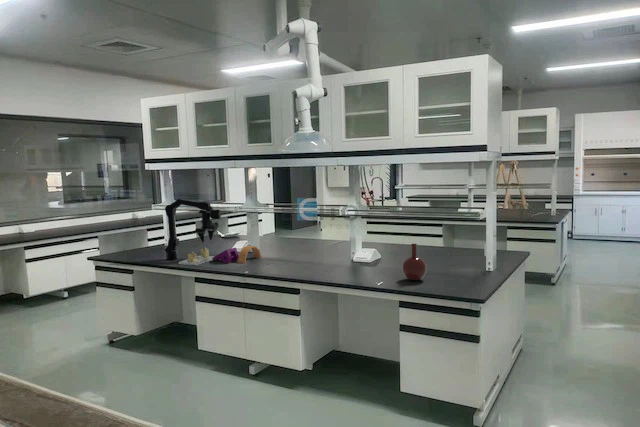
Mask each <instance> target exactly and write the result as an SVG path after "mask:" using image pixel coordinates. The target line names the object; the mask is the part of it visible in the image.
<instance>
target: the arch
mask: <svg viewBox="0 0 640 427" xmlns="http://www.w3.org/2000/svg"><path fill="white" fill-rule="evenodd" d="M250 250H251V252H252V253H253V259H254V258H255V259H262V254H261V252H260V248H258V247H257V246H256V245H255V246H254V245H253V246H252V245H245V246H243V247H242V248H241V250H240V251H239V253H238V254H239V258H238V260H237V262H238V263H239V264H246V263H247V262H246V261H247V260H246V259H247V256H248V253H249V252H250Z"/></svg>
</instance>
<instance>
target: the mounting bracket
mask: <svg viewBox="0 0 640 427" xmlns="http://www.w3.org/2000/svg"><path fill="white" fill-rule="evenodd" d="M239 254H240V253H239V252H238V250H237V247H233V248H227V249H226V250H223V251H221V252H220V253H218V254H216V255H215V256H214V255H213V256H214V257H213V258H212V259H213V260H212V262H216V261H219V260H221V262H222V263H223V264H230V263H231V262H236V261H237V262H238V258H239Z"/></svg>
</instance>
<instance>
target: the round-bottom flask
mask: <svg viewBox="0 0 640 427" xmlns="http://www.w3.org/2000/svg"><path fill="white" fill-rule="evenodd" d="M417 245H418V244H417V243H411V244H410V246H411V256H409V257H407V258H406V259H404V260H403V262H402V265H401V271H402V274H403V276H404V277H405V278H406V279H407V280H410V281H413V280H414V281H415V280H416V281H419V280H421V279H423V278H424V277H425V275H426V273H427V264H426V262H425V261H424V259H423V258H422V257H419V256H417Z"/></svg>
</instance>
